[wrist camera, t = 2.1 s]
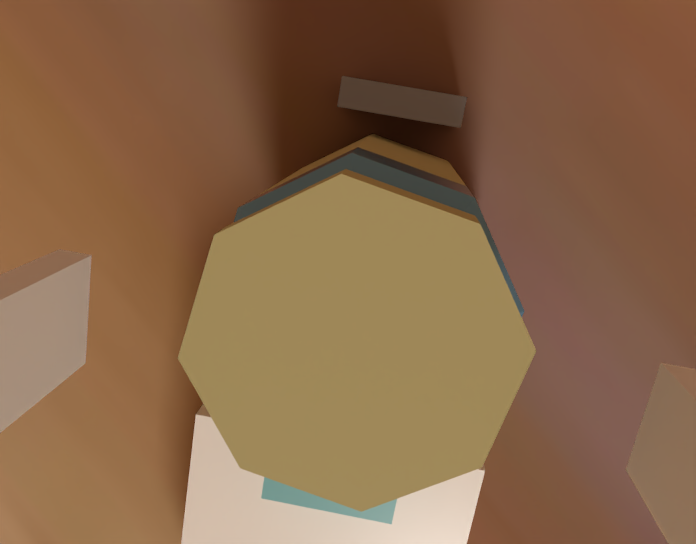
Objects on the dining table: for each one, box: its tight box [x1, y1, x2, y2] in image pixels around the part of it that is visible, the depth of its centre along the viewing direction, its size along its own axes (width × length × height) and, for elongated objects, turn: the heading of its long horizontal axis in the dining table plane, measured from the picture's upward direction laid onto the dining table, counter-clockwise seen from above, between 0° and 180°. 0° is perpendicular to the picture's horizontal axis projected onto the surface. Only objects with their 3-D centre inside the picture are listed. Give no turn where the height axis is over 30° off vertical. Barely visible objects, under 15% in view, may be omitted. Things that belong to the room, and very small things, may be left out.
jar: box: [178, 134, 536, 512], centre depth 23 cm, size 9×9×15 cm
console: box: [181, 76, 485, 544], centre depth 28 cm, size 12×28×8 cm, turn 171°
